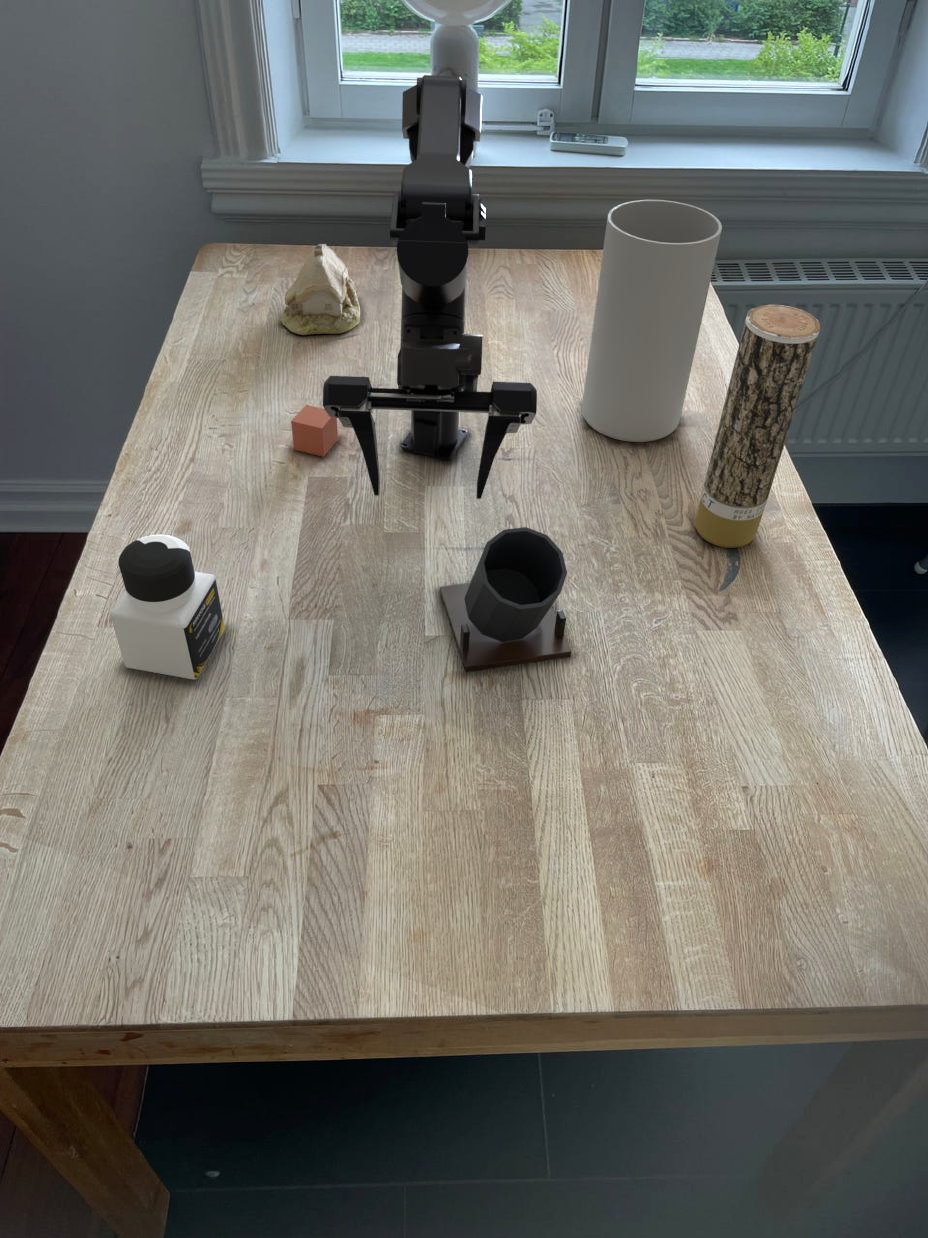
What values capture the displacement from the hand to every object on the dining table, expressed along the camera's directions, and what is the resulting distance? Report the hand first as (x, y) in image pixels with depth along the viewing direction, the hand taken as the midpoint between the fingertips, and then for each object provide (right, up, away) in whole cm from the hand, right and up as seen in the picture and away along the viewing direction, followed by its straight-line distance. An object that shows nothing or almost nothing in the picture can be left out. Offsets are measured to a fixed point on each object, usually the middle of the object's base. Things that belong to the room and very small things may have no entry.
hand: (427, 496), depth 87 cm
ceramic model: (-17, +33, +54) cm, 66 cm away
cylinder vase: (+24, +15, +37) cm, 47 cm away
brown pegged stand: (+7, -11, +9) cm, 16 cm away
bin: (+7, -10, +7) cm, 14 cm away
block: (-15, +10, +30) cm, 35 cm away
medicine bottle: (-24, -14, +4) cm, 28 cm away
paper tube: (+32, -1, +20) cm, 38 cm away
